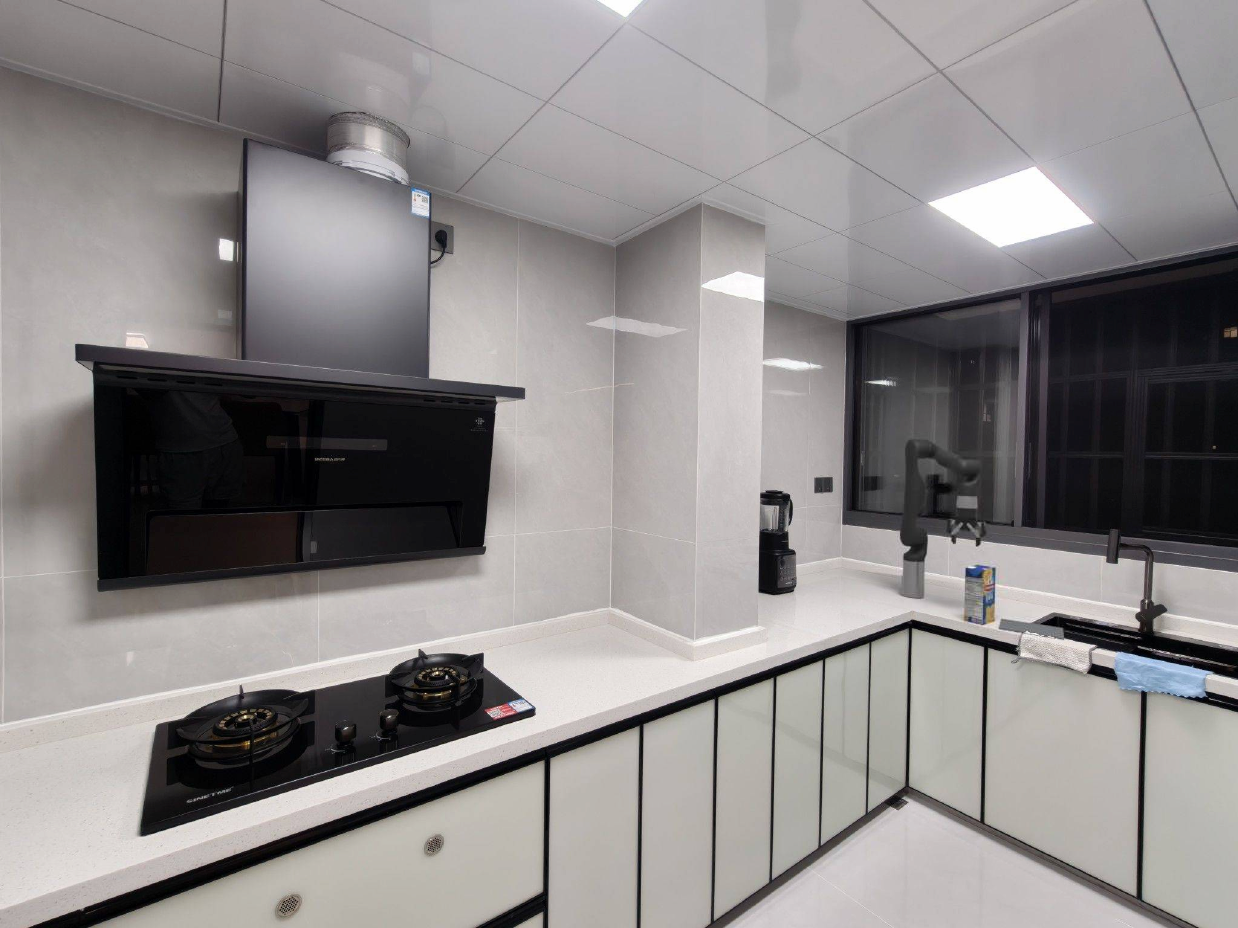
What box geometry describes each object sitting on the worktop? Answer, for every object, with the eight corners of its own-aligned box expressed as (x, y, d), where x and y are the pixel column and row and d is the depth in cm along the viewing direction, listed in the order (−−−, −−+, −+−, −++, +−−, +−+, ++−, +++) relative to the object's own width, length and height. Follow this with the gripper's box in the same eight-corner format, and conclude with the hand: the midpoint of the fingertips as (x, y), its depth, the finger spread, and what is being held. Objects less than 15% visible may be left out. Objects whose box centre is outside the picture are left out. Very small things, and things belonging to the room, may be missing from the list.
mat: (998, 628, 219) (998, 627, 219) (1001, 619, 231) (1001, 618, 231) (1064, 639, 206) (1064, 638, 206) (1062, 629, 219) (1062, 628, 219)
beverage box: (964, 620, 229) (965, 567, 228) (976, 616, 235) (977, 564, 235) (982, 625, 223) (983, 570, 223) (994, 620, 230) (995, 567, 229)
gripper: (945, 505, 239) (944, 543, 239) (983, 508, 228) (982, 548, 229) (950, 504, 244) (949, 542, 244) (988, 507, 233) (987, 546, 234)
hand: (965, 545), depth 236 cm, fingers open, 8 cm apart
